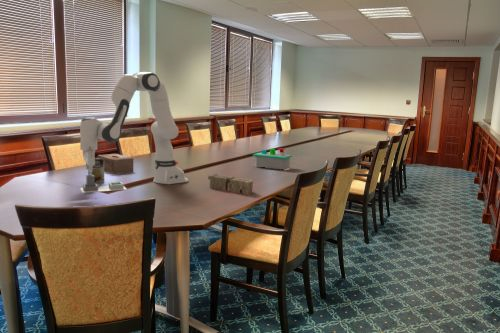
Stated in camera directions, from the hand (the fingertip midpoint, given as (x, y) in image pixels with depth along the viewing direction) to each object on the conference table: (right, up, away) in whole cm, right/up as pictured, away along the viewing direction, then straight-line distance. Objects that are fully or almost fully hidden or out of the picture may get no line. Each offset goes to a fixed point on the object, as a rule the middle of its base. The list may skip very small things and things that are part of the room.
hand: (89, 170), depth 232 cm
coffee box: (-4, -9, +23) cm, 25 cm away
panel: (+6, -12, +6) cm, 14 cm away
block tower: (+79, -12, +21) cm, 82 cm away
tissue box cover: (-8, -1, +69) cm, 69 cm away
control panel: (+108, +1, +101) cm, 148 cm away
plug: (0, -11, +2) cm, 11 cm away
